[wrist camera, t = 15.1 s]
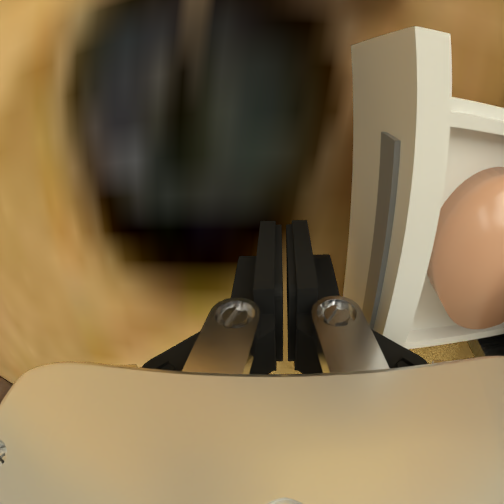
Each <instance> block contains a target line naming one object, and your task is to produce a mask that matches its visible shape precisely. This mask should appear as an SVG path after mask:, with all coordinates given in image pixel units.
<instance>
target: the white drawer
mask: <svg viewBox="0 0 504 504" xmlns="http://www.w3.org/2000/svg"><path fill="white" fill-rule="evenodd" d="M351 55H352V77H353V171H352V194H351V212H350V227H349V240H348V251H347V262H346V272H345V281H344V290H343V297H346V298H349V299H351V300H353V301H354V302H356V303H357V304H358V305H359V307H360V308H361V310H362V312H363V314H364V316H365V318H366V320H367V322H368V324H369V326H370V328H371V329H372V330H374V331H376V332H378V333H379V334H381V335H383V336H385V337H387V338H388V339H390V340H392V341H394V342H395V343H397V344H399V345H401V346H403V347H404V348H406V349H414V348H422V347H429V346H436V345H443V344H450V343H456V342H462V341H468V340H474V339H479V338H485V337H490V336H495V335H500V334H504V322H503V323H501V324H499V325H496V326H493V327H490V328H485V329H468V328H464V327H462V326H459V325H458V324H456V323H455V322H454V321H453V320H452V319H451V318H450V317H449V315H448V314H447V312H446V310H445V308H444V306H443V305H442V303H441V301H440V299H439V297H438V295H437V294H436V292H435V290H434V288H433V286H432V285H431V283H430V281H429V278H428V275H427V269H428V265H429V261H430V257H431V253H432V248H433V244H434V239H435V235H436V230H437V225H438V219H439V214H440V209H441V207H442V206H443V204H444V202H445V201H446V200H447V199H448V197H449V196H450V195H451V194H452V192H453V191H454V190H455V189H456V188H457V187H458V186H459V185H460V184H462V183H463V182H464V181H465V180H466V179H468V178H469V177H471V176H472V175H474V174H476V173H478V172H480V171H482V170H485V169H488V168H492V167H504V108H502V107H498V106H494V105H489V104H485V103H481V102H476V101H471V100H466V99H461V98H456V97H452V57H451V37H450V34H449V33H445V32H441V31H436V30H432V29H427V28H422V27H417V26H413V27H409V28H405V29H402V30H398V31H395V32H391V33H388V34H385V35H381V36H378V37H375V38H372V39H369V40H366V41H363V42H360V43H357V44H354V45H351Z"/></svg>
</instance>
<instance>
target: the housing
mask: <svg viewBox="0 0 504 504" xmlns="http://www.w3.org/2000/svg"><path fill="white" fill-rule="evenodd" d="M467 342H468V344H469V346H470V348H471V350H472V353H473V355H474V357H475V358H476V357H485V356H504V334H500V335H495V336H490V337H485V338H479V339H474V340H468V341H467Z"/></svg>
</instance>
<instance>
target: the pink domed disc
mask: <svg viewBox="0 0 504 504" xmlns="http://www.w3.org/2000/svg"><path fill="white" fill-rule="evenodd" d="M427 275H428V278H429V281H430V283H431V285H432V286H433V288H434V290H435V292H436V294H437V295H438V297H439V299H440V301H441V303H442V305H443V306H444V308H445V310H446V312H447V314H448V315H449V317H450V318H451V319H452V320H453V321H454V322H455V323H456V324H458V325H459V326H462V327H464V328H468V329H485V328H490V327H493V326H496V325H499V324H501V323H503V322H504V167H492V168H488V169H485V170H482V171H480V172H478V173H476V174H474V175H472V176H471V177H469V178H468V179H466V180H465V181H464V182H463V183H462V184H460V185H459V186H458V187H457V188H456V189H455V190H454V191H453V192H452V194H451V195H450V196H449V197H448V199H447V200H446V201H445V202H444V204H443V206H442V207H441V209H440V214H439V219H438V225H437V230H436V235H435V239H434V244H433V248H432V253H431V257H430V261H429V265H428V269H427Z"/></svg>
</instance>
